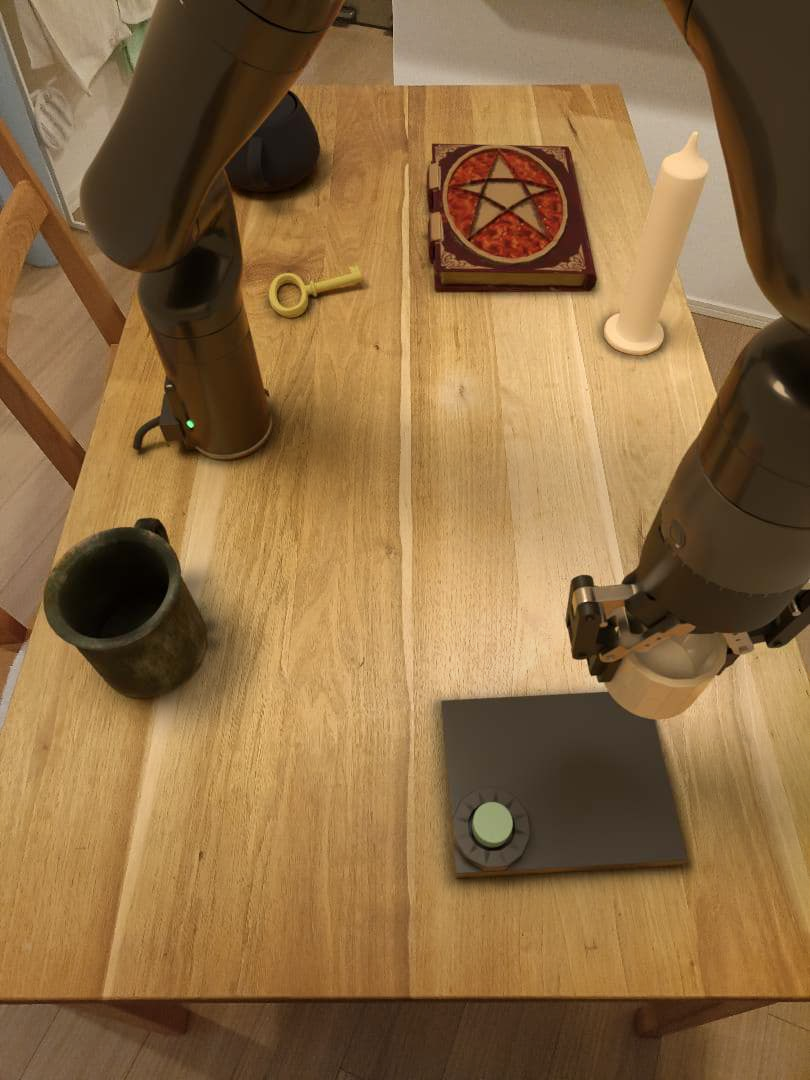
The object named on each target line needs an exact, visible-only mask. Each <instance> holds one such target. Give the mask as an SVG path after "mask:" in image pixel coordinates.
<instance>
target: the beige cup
mask: <svg viewBox="0 0 810 1080" xmlns="http://www.w3.org/2000/svg"><path fill="white" fill-rule="evenodd" d="M643 626H644V625H643ZM615 630H616V634H617V639H619V638H620V629H619V626H618V627H616V628H615ZM644 630H645V631H646V630H648V629H647V628H646V627H645V626H644ZM727 646H728V644H727V642H726V640H725V638H724V636H723V635H722V634H721V633H718V632H715V633H714V634H686V635H684V636H682V637H675V636H674V637H672V638H670V639H669V640H667V641H665V642H663V643H662V644H660V645H658V646H656V647H655V648H653V649H651V650H650V651H648V652H646V653H640V652H635V651H632V652H631V653H629V654H627V655H625V656H624V657H622V658H621V663H620V665H619V666H618V668H617V670H616V672H615V674H614V676H613V678H612V679H611V681H610V682H604V683H603V684H604V686H605V688H606V690H607V692H609V693H610V695H611V696H612V697H613V699H614V700H615V701H616V702H617V703H618V704H619V705H621V706H622V707H623V708H625V709H626V710H628V711H629V712H631V713H633V714H635V715H638V716H640V717H644V718H648V719H654V720H669V719H672V718H675V717H677V716H679V715H682V714H683V713H684V712H686V711H687V710H688V709H689V708H690V707H692V706H693V704H694V703H695V702H696V701H697V700H698V698H699V697H700V696H701V695H702V693H703V692H704V691H705V690H706V688H707V687H708V686H709V685H710V683H711V682H712V681H713V680H714V679H715V678H716V675H717V673H718V672H719V670H720V669H721V668H722V666H723V665H724V664H725V660H726V653H727Z"/></svg>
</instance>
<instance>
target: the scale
mask: <svg viewBox="0 0 810 1080" xmlns="http://www.w3.org/2000/svg"><path fill="white" fill-rule="evenodd" d="M440 718H441V728H442V730H441V731H442V741H443V755H444V766H445V779H446V790H447V791H446V792H447V793H446V794H447V806H448V816H449V818H448V819H449V829H450V842H451V855H452V866H453V867H452V868H453V878H454V879H462V878H478V877H479V878H480V877H495V876H496V877H498V876H511V875H512V876H513V875H515V876H516V875H529V874H531V875H532V874H549V873H550V874H551V873H564V872H565V873H566V872H583V871H600V870H601V871H602V870H603V871H604V870H617V869H618V870H619V869H621V870H622V869H635V868H651V867H653V868H654V867H670V866H671V867H672V866H681V865H683V864H685V863H686V862H688V856H687V852H686V848H685V844H684V840H683V835H682V830H681V827H680V826H681V825H680V823H679V818H678V813H677V810H676V806H675V802H674V801H675V800H674V797H673V793H672V788H671V784H670V780H669V775H668V771H667V767H666V763H665V759H664V755H663V751H662V746H661V741H660V738H659V737H660V736H659V734H658V730H657V729H658V728H657V725H656V719H648V718H644V717H640V716H638V715H635V714H633V713H631V712H629V711H628V710H626V709H625V708H623V707H622V706H621V705H619V704H618V703H617V702H616V701H615V700H614V699H613V697H612V696H611V695H610V693H609V692H608V691H600V692H599V691H598V692H597V691H596V692H595V691H594V692H579V693H578V692H576V693H557V694H538V695H521V696H520V695H519V696H503V697H483V698H482V697H481V698H463V699H446V700H445V699H443V700H441V702H440ZM488 802H496V803H499V804H501V805H503V806H504V807H506V808H507V809H508V811H509V812H510V814H511V816H512V820H513V828H512V831H511V833H510V836H509V838H508V839H507V841H506V842H505V843H504V844H502V845H501V846H499V847H494V848H491V847H486V846H484V845H482V844H481V843H479V842H478V841H477V840H476V838H475V836H474V834H473V831H472V821H473V817H474V814H475V812H476V810H477V809H478V808H479V807H480V806H481V805H483V804H485V803H488Z"/></svg>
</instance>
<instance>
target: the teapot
mask: <svg viewBox="0 0 810 1080" xmlns="http://www.w3.org/2000/svg"><path fill="white" fill-rule="evenodd" d="M320 152H321V145H320V138H319V134H318V131H317V129H316V127H315V124H314V121H313V120H312V118H311V116H310V114H309V112H308V111H307V109H306V108H305V105H304V104H303V102H302V100H301V99H300V98H299V97H298V95H297V94H296V93H295V92H293V91H292V90H291V89H289V91H288V92H287V93H286V95H285V96H284V97H283V99H282V100H281V101H280V102H279V104H278V105H277V106H276V107H275V109H274V110H273V111H272V112H271V114H270V115H269V116H268V117H267V118H266V120H265V121H264V122H263V123H262V124H261V125H260V127H259V128H258V129H257V130H256V131H255V132H254V133H253V135H252V136H251V137H250V138H249V139H248V140H247V141H246V142H245V143H244V145H243V146H242V147H241V148H240V149H239V150H238V151H237V152H236V154H235V155H234V156H233V157H232V158H231V159H230V160H229V161H228V163H227V164H226V165H225V166H224V169H225V171H226V174H227V177H228V180H229V183H230V184H232V185H234V186H237V187H238V188H240V189H242V190H244V191H247V192H251V193H258V194H270V193H278V192H282V191H285V190H288V189H291V188H293V187H295V186H297V185H298V184H300V183H301V182H302V181H303V180H304V179H305V178H306V177H307V176H309V174H310V173H311V172H312V171H313V170H314V168H315V167H316V165H317V164H318V161H319V157H320Z"/></svg>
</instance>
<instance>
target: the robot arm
mask: <svg viewBox="0 0 810 1080" xmlns="http://www.w3.org/2000/svg"><path fill="white" fill-rule="evenodd" d="M345 2H346V0H157V1H156V3H155V6H154V9H153V11H152V15H151V16H150V17H151V18H150V21H149V23H148V26H147V29H146V32H145V35H144V38H143V41H142V44H141V47H140V50H139V53H138V57H137V60H136V63H135V66H134V70H133V74H132V76H131V79H130V83H129V86H128V90H127V92H126V95H125V98H124V100H123V102H122V105H121V108H120V110H119V112H118V114H117V116H116V117H115V120H114V122H113V123H112V126H110V127H111V128H110V129H109V131H108V133H107V134H106V136H105V138H104V140H103V141H102V143H101V145H100V147H99V149H98V151H97V152H96V154H95V156H94V158H93V159H92V161H91V162H90V164H89V166H88V167H87V168H86V171H85V172H84V174H83V177H82V179H81V183H80V187H79V206H80V213H81V216H82V220H83V221H82V222H83V223H84V226H85V228H86V231H87V233H88V235H89V236H90V238H91V239H92V242H93V243H94V245H96V247H97V248H98V249H99V251H100V252H101V253H102V254H103V255H104V256H105V257H106V258H107V259H109V261H111V262H113V263H114V264H115V265H117V266H119V267H121V268H123V269H126V270H128V271H131V272H135V273H140V274H139V277H138V281H137V287H136V294H137V301H138V303H139V304H138V305H139V307H140V309H141V312H142V315H143V317H144V320H145V323H146V325H147V328H148V331H149V333H150V335H151V339H152V342H153V343H154V346H155V349H156V352H157V354H158V357H159V359H160V362H161V365H162V368H163V370H164V373H165V377H164V384H163V391H164V393H163V396H162V403H161V409H160V414H159V415H158V416H155V417H154V418H152V419H151V420H148V421H146V422H145V423H144V424H142V425H141V426H140V427H139V428H138V429H137V430H136V432H135V435H134V438H133V444H132V449H134V450H136V451H140V450H141V449H142V446H143V440H144V438H145V436H146V434H147V433H148V432H150V431H151V430H153V429H154V428H157V427H159V429H160V431H161V434H162V436H163V438H164V441H165V442H180V441H181V442H183V443H184V444H185V445H184V446H185V447H186V450H187V451H197V452H198V453H200V454H201V455H203V456H205V457H208V458H210V459H214V460H226V461H227V460H235V459H236V460H237V459H241V458H243V457H246V456H249V455H250V454H252V453H254V452H256V451H257V450H259V449H260V448H261V447H263V445H264V444H265V443H266V442H267V440H269V437H270V435H271V434H272V430H273V426H274V425H273V423H274V422H273V417H272V412H271V410H270V407H269V403H268V400H267V399H268V398H271V397H270V393H269V390H267V389H266V388H265V385H264V382H263V378H262V373H261V369H260V366H259V365H260V364H259V360H258V357H257V352H256V348H255V343H254V340H253V339H254V338H253V335H252V330H251V326H250V323H249V319H248V315H247V309H246V306H245V305H246V304H245V302H244V298H243V297H244V296H243V292H242V288H241V287H242V279H243V274H244V254H243V249H242V243H241V236H240V230H239V225H238V224H239V223H238V218H237V212H236V206H235V201H234V196H233V192H232V188H231V182H229V180H228V177H227V174H226V171H225V169H224V166H225V165H226V164H227V163H228V161H229V160H230V159H231V158H232V157H233V156H234V155H235V154H236V152H237V151H238V150H239V149H240V148H241V147H242V146H243V145H244V143H245V142H246V141H247V140H248V139H249V138H250V137H251V136H252V135H253V133H254V132H255V131H256V130H257V129H258V128H259V127H260V125H261V124H262V123H263V122H264V121H265V120H266V118H267V117H268V116H269V115H270V114H271V112H272V111H273V110H274V109H275V107H276V106H277V105H278V104H279V102H280V101H281V100H282V99H283V97H284V96H285V95H286V93H287V92H288V91H289V90H291V89H292V87H293V86H294V84H295V83H296V82H297V80H298V79H299V77H300V76H301V74H302V73H303V72H304V70H305V69H306V67H307V65H308V64H309V63H310V61H311V59H312V58H313V56H314V55H315V53H316V51H317V49H318V48H319V46H320V45H321V43H322V41H323V40H324V38H325V37H326V35H327V33H328V32H329V30H330V28H331V26H332V25H333V23H334V22H335V20H336V18H337V17H338V15H339V13H340V11H341V9H342V8H343V5H344V4H345ZM661 2H662V4H663V6H664V8H665V9H666V11H667V12H668V14H669V16H670V17H671V19H672V21H673V23H674V24H675V26H676V28H677V29H678V31H679V33H680V35H681V36H682V38H683V40H684V41H685V43H686V45H687V46H688V47H689V49H690V50H691V52H692V55H693V56H694V57H695V59H696V61H697V63H698V64H699V65H700V67H701V69H702V70H703V72H704V75H705V79H706V83H707V88H708V91H709V96H710V101H711V106H712V112H713V117H714V122H715V126H716V132H717V136H718V140H719V144H720V148H721V152H722V157H723V160H724V165H725V169H726V174H727V179H728V184H729V189H730V194H731V198H732V203H733V209H734V213H735V218H736V223H737V227H738V233H739V237H740V242H741V245H742V249H743V253H744V257H745V260H746V261H745V262H746V263H747V265H748V268H749V271H750V273H751V275H752V277H753V279H754V281H755V283H756V285H757V287H758V288H759V290H760V292H761V293H762V294H763V296H764V297H765V298H766V300H767V301H768V302H769V303H770V304H771V306H772V307H773V308H774V309H775V310H776V311H777V312H778V313H779V315H781V316H780V317H778V318H776V319H774V320H772V321H771V322H769V323H768V324H766V325H765V326H763V327H762V328H761V329H760V330H759V331H757V332H756V333H755V334H754V335H753V336H752V337H751V338H750V339H749V341H747V342H746V343H745V345H744V346H743V347H742V349H741V350H740V351H739V352H738V353H737V356H736V357H735V359H734V360H733V363H732V364H731V366H730V367H729V370H728V372H727V373H726V376H725V378H724V380H723V381H722V384H721V386H720V389H719V391H718V393H717V395H716V397H715V399H714V402H713V403H712V406H711V408H710V410H709V412H708V415H707V417H706V418H705V421H704V423H703V424H702V427H701V430H700V431H699V433H698V434H697V436H696V437H695V439H694V440H693V442H692V443H691V444H690V446H689V447H688V449H687V450H686V452H685V453H684V455H683V457H682V458H681V460H680V462H679V464H678V465H677V468H676V470H675V472H674V474H673V476H672V479H671V481H670V483H669V486H668V488H667V490H666V492H665V494H664V497H663V499H662V501H661V504H660V505H659V507H658V510H657V511H656V514H655V517H654V518H653V521H652V523H651V526H650V527H649V530H648V532H647V534H646V536H645V539H644V541H643V544H642V547H641V551H640V556H639V561H638V565H637V567H636V568H635V569H634V570H632V571H631V572H629V573H628V574H627V575H626V576H625V577H624V578H623V579H622V580H621V582H620V584H610V585H595V582H594V577H593V576H592V575H589V574H579V575H577V576H575V577H573V578H571V580H570V585H569V586H570V587H569V592H568V598H567V605H566V614H565V627H566V629H567V632H568V638H569V643H570V652H571V658H572V659H573V660H577V661H583V660H586V664H587V668H588V673H589V675H590V677H596V682H598V683H599V684H601V683H603V684H604V682H610V681H611V679H612V678H613V676H614V674H615V672H616V670H617V668H618V666H619V665H620V663H621V658H622V657H624V656H625V655H627V654H629V653H631V652H632V651H635V652H640V653H646V652H648V651H650V650H651V649H653V648H655V647H656V646H658V645H660V644H662V643H663V642H665V641H667V640H669V639H670V638H672V637H674V636H675V637H682V636H684V635H686V634H714V633H715V632H718V633H721V634H722V635H723V636H724V638H725V640H726V642H727V644H728V646H727V653H726V660H725V664H724V665H723V666H722V668H721V669H720V670H719V672H718V673H717V675H716V676H721V675H722V673H723V672H724V671H725V670H726V669H728V668H729V667H731V666H733V665H734V664H735V662H736V661H737V660H738V659H739V657H740V656H741V655H747V654H749V653H751V652H753V651H754V650H755V645H756V644H762V643H765V645H766V647H767V648H769V649H779V648H782V647H784V646H787V645H788V644H789V643H790V642H791V641H792V640H793V639H794V638H796V637H797V636H799V634H801V632H803V630H805V629H806V628H807V627H809V625H810V0H661ZM267 397H268V398H267ZM643 625H644V626H645V627H646V628H647V629H648V630H646V631H645V630H644V626H643ZM618 626H619V629H620V638H619V639H617V634H616V630H615V628H616V627H618ZM716 676H715V677H716Z"/></svg>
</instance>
